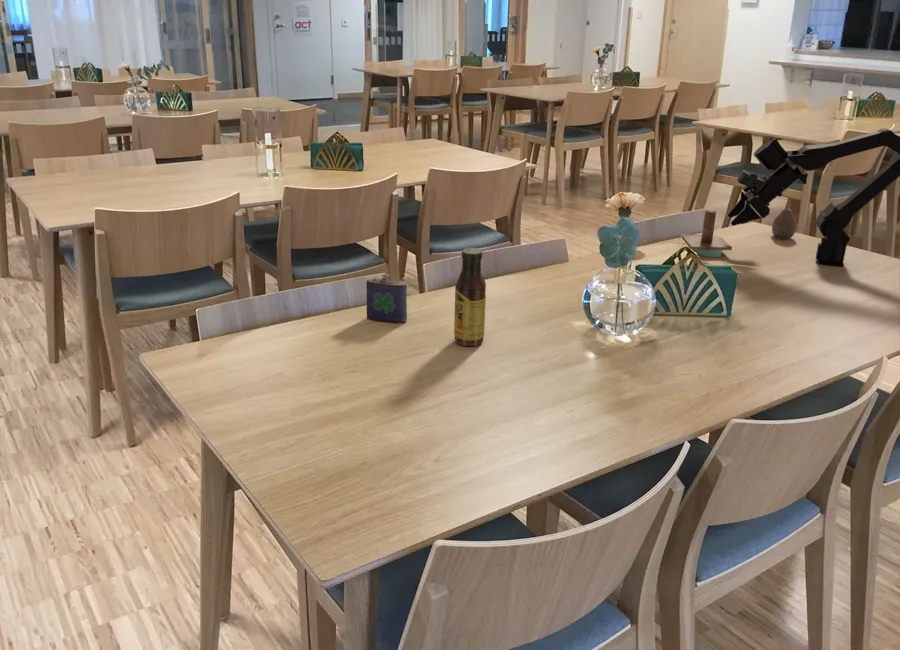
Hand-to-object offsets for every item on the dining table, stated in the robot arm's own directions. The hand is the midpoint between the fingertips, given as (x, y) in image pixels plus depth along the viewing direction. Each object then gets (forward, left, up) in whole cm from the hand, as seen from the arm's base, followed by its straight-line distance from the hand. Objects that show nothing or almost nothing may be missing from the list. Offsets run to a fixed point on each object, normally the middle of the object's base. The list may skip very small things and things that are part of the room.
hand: (730, 220), depth 225 cm
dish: (+6, +1, -10) cm, 11 cm away
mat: (+8, -11, -10) cm, 17 cm away
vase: (-15, -25, -10) cm, 31 cm away
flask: (+68, +83, -10) cm, 107 cm away
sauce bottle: (+47, +88, -10) cm, 100 cm away
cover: (+5, +1, -7) cm, 9 cm away
